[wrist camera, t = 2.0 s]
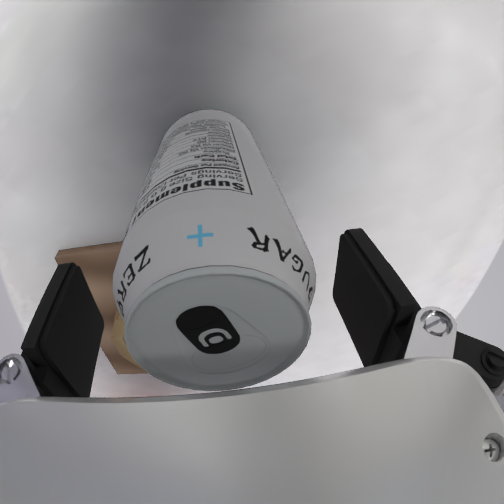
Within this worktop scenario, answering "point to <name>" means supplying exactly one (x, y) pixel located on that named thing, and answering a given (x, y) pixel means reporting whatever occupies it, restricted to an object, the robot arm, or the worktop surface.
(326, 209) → the worktop surface
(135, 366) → the ring stand
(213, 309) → the energy drink can
